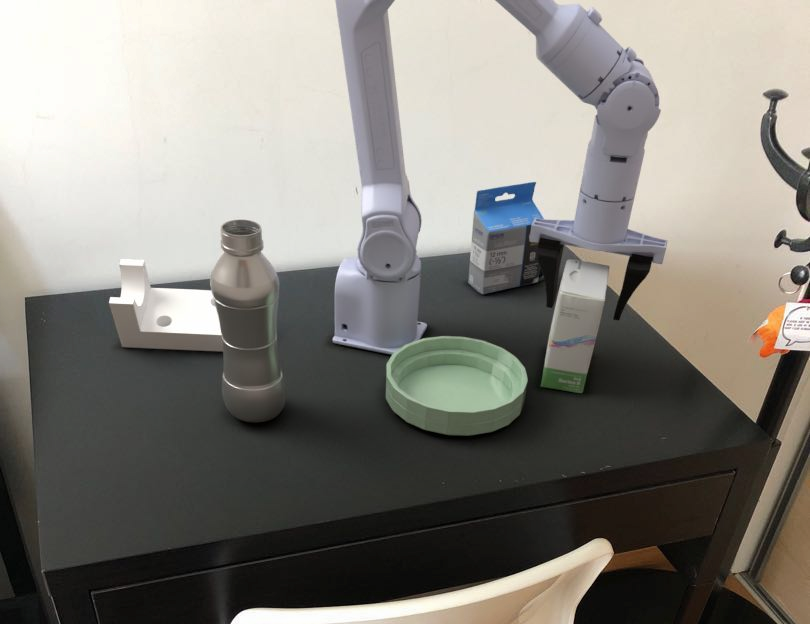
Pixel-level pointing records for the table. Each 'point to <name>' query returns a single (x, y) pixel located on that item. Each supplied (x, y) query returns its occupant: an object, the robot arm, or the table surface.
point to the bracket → (163, 314)
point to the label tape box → (504, 239)
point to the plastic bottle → (248, 324)
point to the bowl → (455, 385)
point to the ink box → (575, 325)
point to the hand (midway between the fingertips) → (583, 310)
